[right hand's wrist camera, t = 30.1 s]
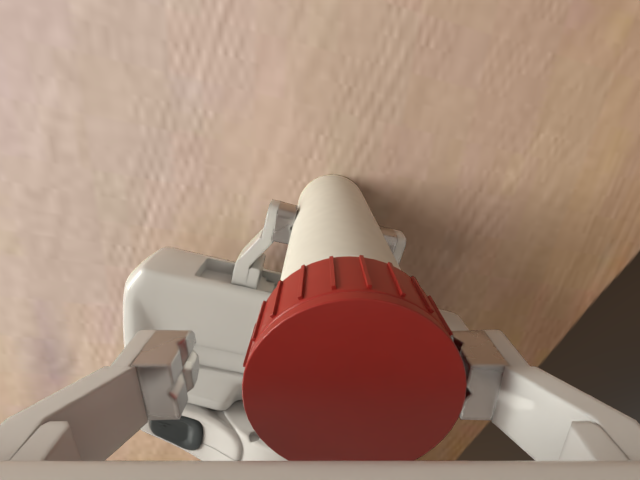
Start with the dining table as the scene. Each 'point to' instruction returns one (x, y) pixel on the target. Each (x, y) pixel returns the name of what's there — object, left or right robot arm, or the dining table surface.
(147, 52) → the dining table surface
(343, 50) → the dining table surface
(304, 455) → the lid
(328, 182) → the bottle
